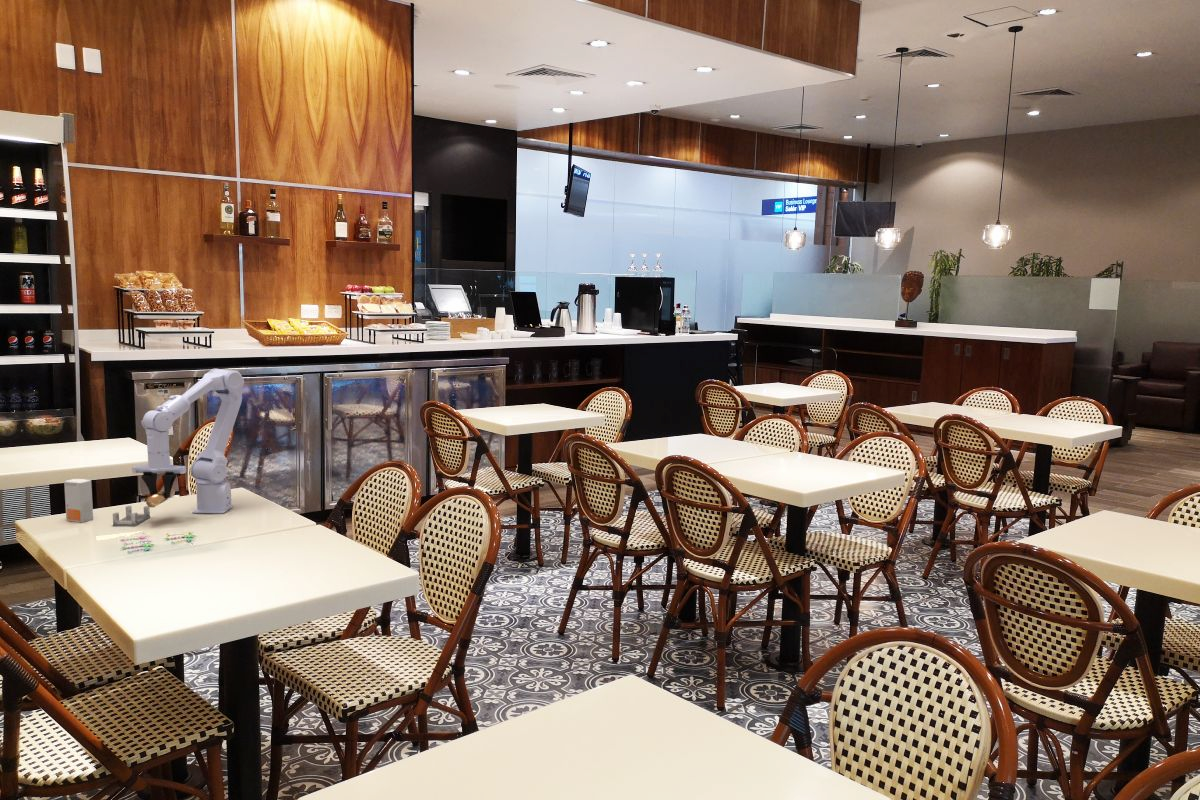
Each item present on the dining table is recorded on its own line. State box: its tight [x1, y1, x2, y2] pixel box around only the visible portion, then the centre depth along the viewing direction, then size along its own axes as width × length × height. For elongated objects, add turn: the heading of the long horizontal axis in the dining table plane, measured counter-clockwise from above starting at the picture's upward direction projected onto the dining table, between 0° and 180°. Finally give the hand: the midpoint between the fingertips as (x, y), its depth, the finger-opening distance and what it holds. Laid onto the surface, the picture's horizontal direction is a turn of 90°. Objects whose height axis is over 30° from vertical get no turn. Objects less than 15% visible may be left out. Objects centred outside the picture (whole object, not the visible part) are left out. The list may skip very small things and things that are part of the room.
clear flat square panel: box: [95, 530, 195, 554], centre depth 244 cm, size 30×30×2 cm
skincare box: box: [63, 478, 94, 524], centre depth 263 cm, size 6×4×12 cm
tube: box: [145, 487, 176, 508], centre depth 263 cm, size 12×3×3 cm, turn 3°
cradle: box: [112, 505, 151, 527], centre depth 263 cm, size 6×10×4 cm, turn 3°
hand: (160, 497), depth 263 cm, fingers closed on tube, 3 cm apart
